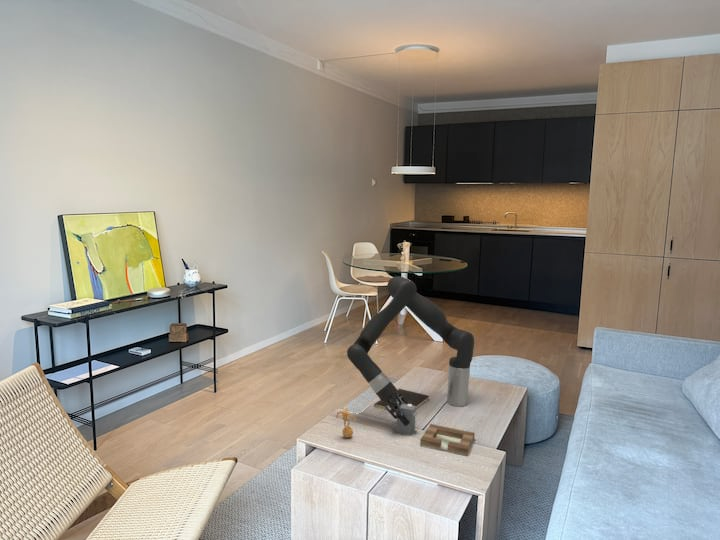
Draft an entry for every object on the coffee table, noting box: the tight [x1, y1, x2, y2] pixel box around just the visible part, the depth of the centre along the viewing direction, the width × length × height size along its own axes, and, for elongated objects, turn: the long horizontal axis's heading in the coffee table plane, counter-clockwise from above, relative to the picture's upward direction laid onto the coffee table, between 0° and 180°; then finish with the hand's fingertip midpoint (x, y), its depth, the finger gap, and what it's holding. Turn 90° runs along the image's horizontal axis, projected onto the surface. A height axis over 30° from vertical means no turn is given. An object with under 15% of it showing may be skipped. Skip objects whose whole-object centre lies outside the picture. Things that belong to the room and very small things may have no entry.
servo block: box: [395, 404, 419, 436], centre depth 197 cm, size 4×8×11 cm, turn 68°
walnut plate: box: [419, 423, 476, 457], centre depth 190 cm, size 15×17×3 cm
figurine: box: [336, 407, 357, 438], centre depth 189 cm, size 8×6×12 cm
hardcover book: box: [373, 388, 430, 411], centre depth 227 cm, size 16×23×2 cm
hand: (410, 421), depth 197 cm, fingers open, 6 cm apart
